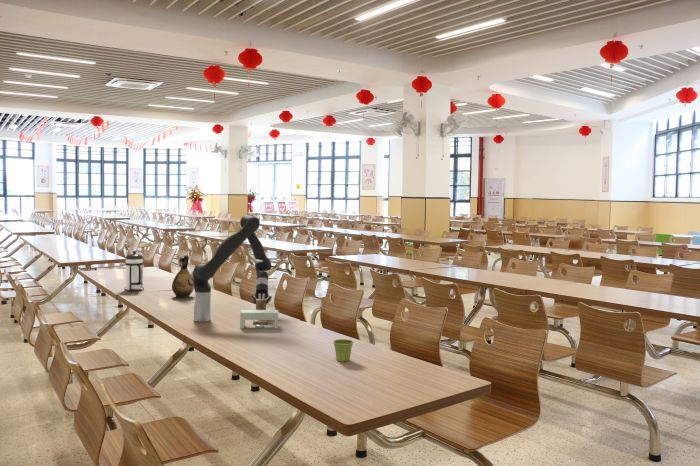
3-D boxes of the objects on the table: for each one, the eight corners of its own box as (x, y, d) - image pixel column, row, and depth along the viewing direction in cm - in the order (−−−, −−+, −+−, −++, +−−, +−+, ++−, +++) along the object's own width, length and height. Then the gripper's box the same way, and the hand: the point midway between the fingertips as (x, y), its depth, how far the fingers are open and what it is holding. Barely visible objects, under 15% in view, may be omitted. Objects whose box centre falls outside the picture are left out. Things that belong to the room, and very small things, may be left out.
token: (254, 328, 323) (254, 326, 323) (255, 326, 328) (255, 324, 328) (263, 328, 324) (263, 326, 324) (264, 326, 329) (264, 324, 328)
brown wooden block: (253, 324, 331) (253, 303, 330) (254, 318, 346) (254, 299, 345) (267, 324, 332) (267, 303, 331) (267, 318, 347) (267, 299, 346)
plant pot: (346, 364, 258) (346, 345, 257) (328, 360, 263) (329, 342, 262) (356, 359, 266) (357, 341, 265) (339, 356, 271) (340, 338, 270)
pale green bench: (240, 328, 320) (240, 312, 319) (241, 325, 328) (241, 309, 327) (277, 328, 322) (278, 312, 321) (278, 325, 330) (278, 310, 329)
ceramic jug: (190, 299, 403) (191, 257, 401) (168, 298, 403) (169, 256, 401) (197, 295, 420) (197, 254, 418) (176, 294, 420) (176, 253, 418)
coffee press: (118, 291, 426) (118, 251, 424) (130, 288, 442) (130, 249, 440) (140, 292, 423) (140, 252, 421) (151, 289, 439) (151, 250, 437)
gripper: (251, 282, 354) (249, 306, 343) (272, 283, 356) (272, 306, 345) (251, 289, 360) (250, 313, 349) (272, 290, 362) (272, 313, 350)
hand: (261, 309), depth 347 cm, fingers closed
